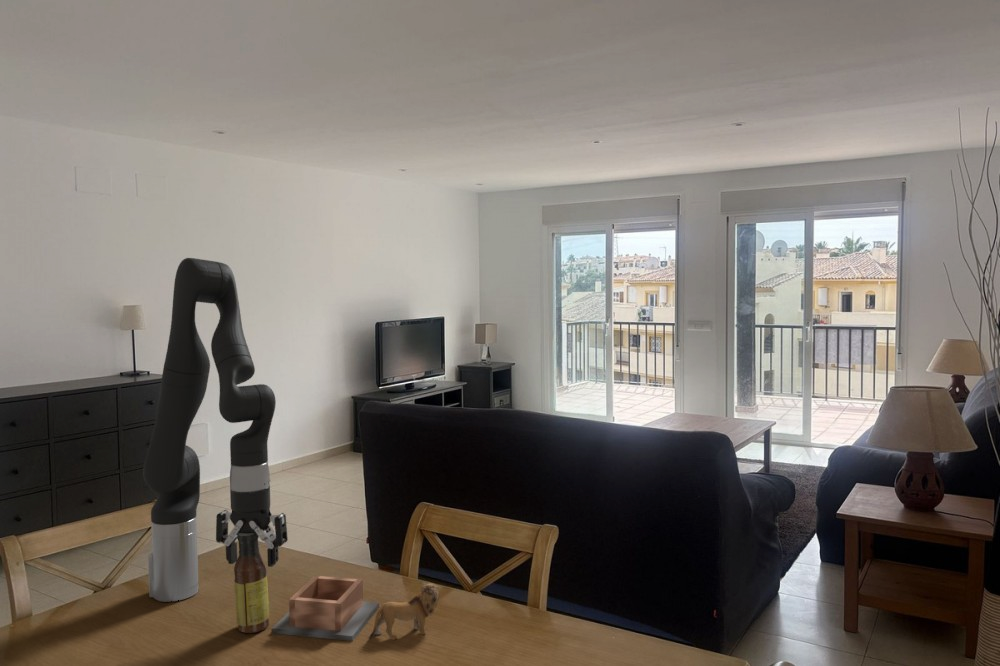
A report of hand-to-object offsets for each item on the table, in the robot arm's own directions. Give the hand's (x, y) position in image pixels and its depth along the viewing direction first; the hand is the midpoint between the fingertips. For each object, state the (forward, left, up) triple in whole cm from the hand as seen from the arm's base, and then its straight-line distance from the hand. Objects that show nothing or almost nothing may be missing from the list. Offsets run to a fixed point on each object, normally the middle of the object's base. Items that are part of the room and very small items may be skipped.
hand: (252, 563), depth 145 cm
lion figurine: (+31, +4, -13) cm, 34 cm away
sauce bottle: (0, 0, -13) cm, 13 cm away
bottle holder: (+13, +6, -13) cm, 20 cm away
